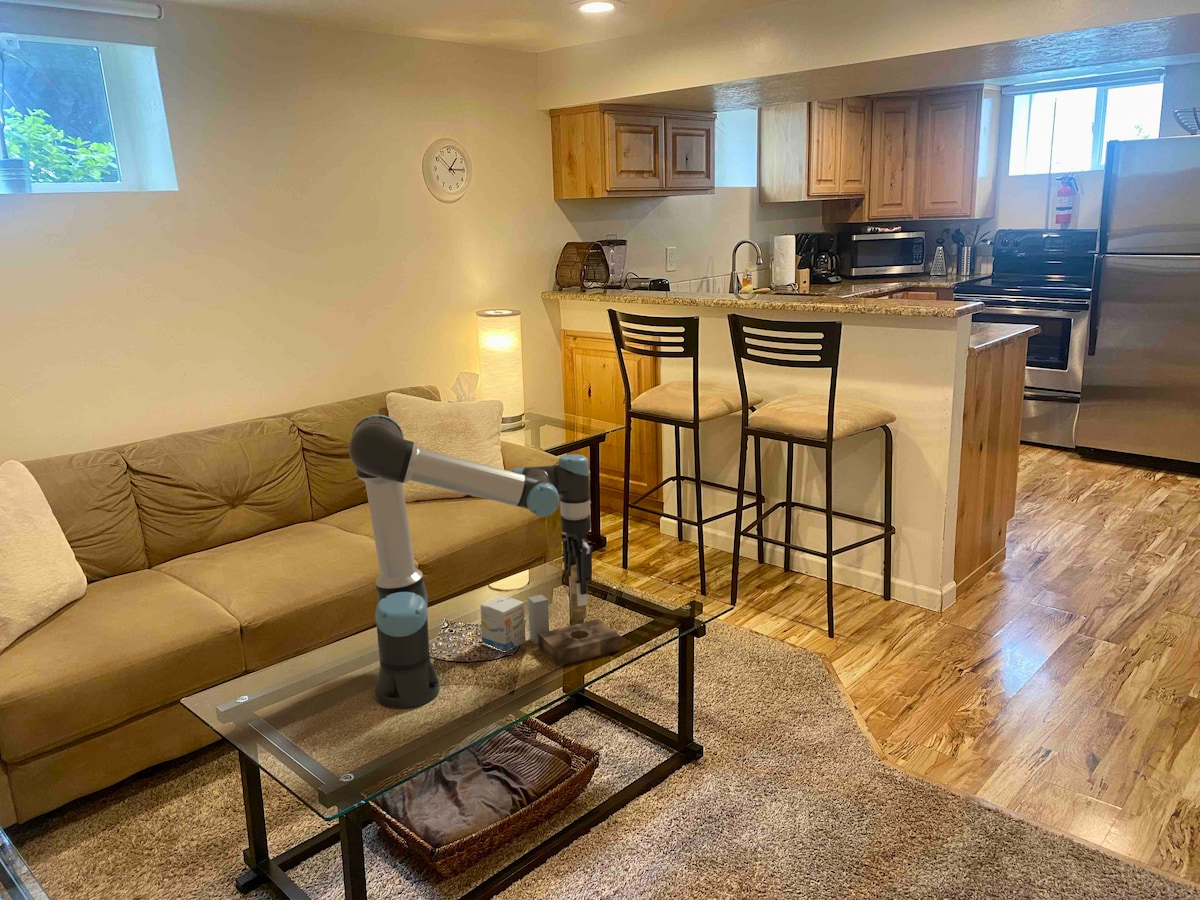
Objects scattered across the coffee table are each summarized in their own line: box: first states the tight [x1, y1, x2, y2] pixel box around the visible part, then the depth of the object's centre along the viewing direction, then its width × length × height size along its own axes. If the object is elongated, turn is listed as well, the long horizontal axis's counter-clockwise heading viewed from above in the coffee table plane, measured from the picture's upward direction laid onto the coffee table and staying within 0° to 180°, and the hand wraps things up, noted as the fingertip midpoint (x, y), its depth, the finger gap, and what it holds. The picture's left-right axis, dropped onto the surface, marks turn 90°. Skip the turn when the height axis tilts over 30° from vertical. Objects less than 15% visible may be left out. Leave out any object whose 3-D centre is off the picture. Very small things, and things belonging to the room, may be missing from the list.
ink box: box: [480, 595, 527, 651], centre depth 235 cm, size 9×8×12 cm
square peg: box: [527, 594, 550, 646], centre depth 237 cm, size 4×4×12 cm
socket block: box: [538, 618, 622, 667], centre depth 232 cm, size 18×12×4 cm, turn 118°
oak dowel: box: [571, 564, 587, 621], centre depth 229 cm, size 4×4×14 cm
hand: (578, 601), depth 229 cm, fingers closed on oak dowel, 3 cm apart
